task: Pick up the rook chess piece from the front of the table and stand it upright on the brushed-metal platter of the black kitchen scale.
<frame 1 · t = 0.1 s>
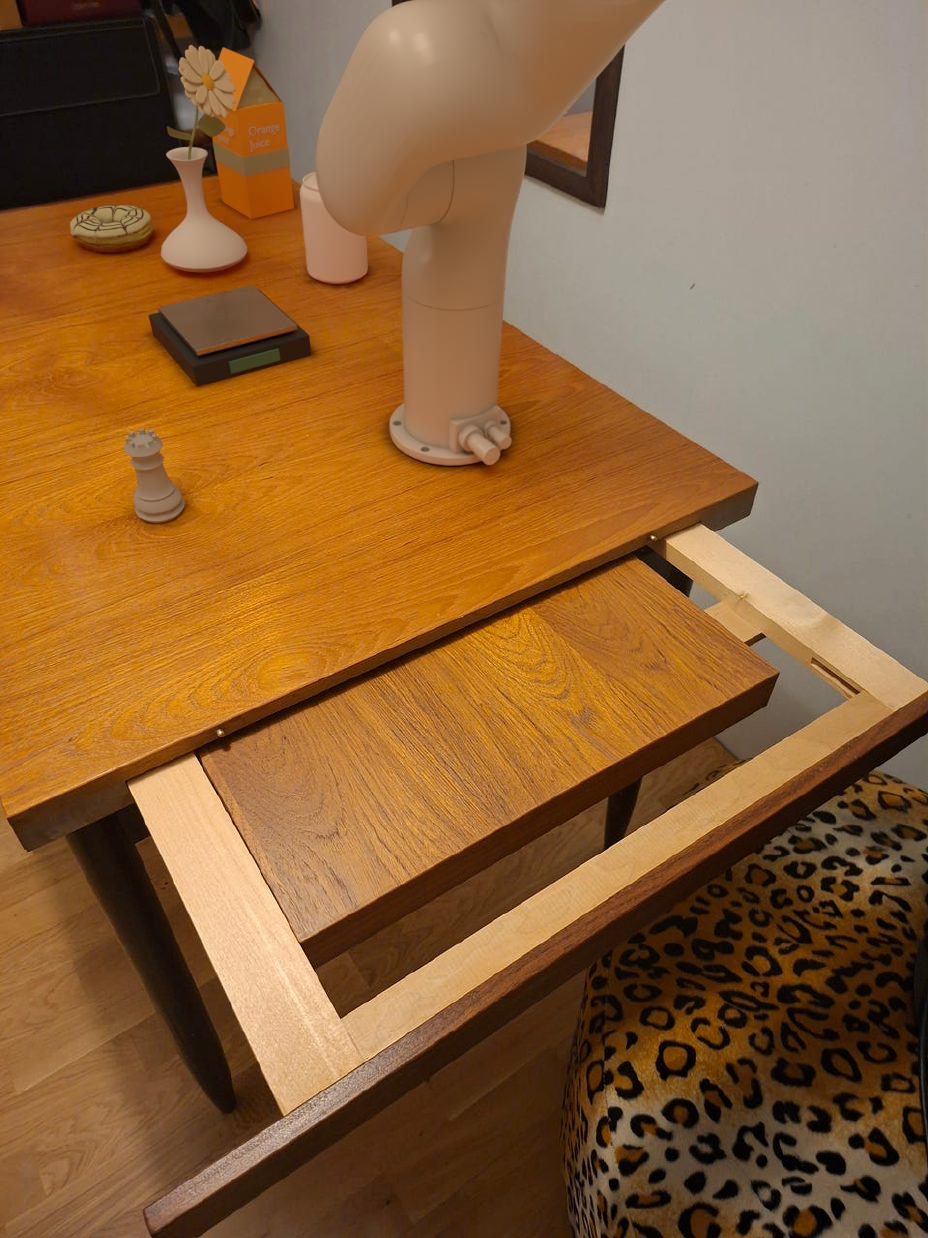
rook chess piece: (161, 511, 80), on the table
decorated donut: (116, 242, 123), on the table
platter: (226, 318, 100), point 3 cm above the table, slide at 0.0 cm
orange juice: (258, 206, 134), on the table
flower in vase: (212, 262, 119), on the table
scale: (231, 344, 103), on the table
beverage can: (338, 275, 117), on the table
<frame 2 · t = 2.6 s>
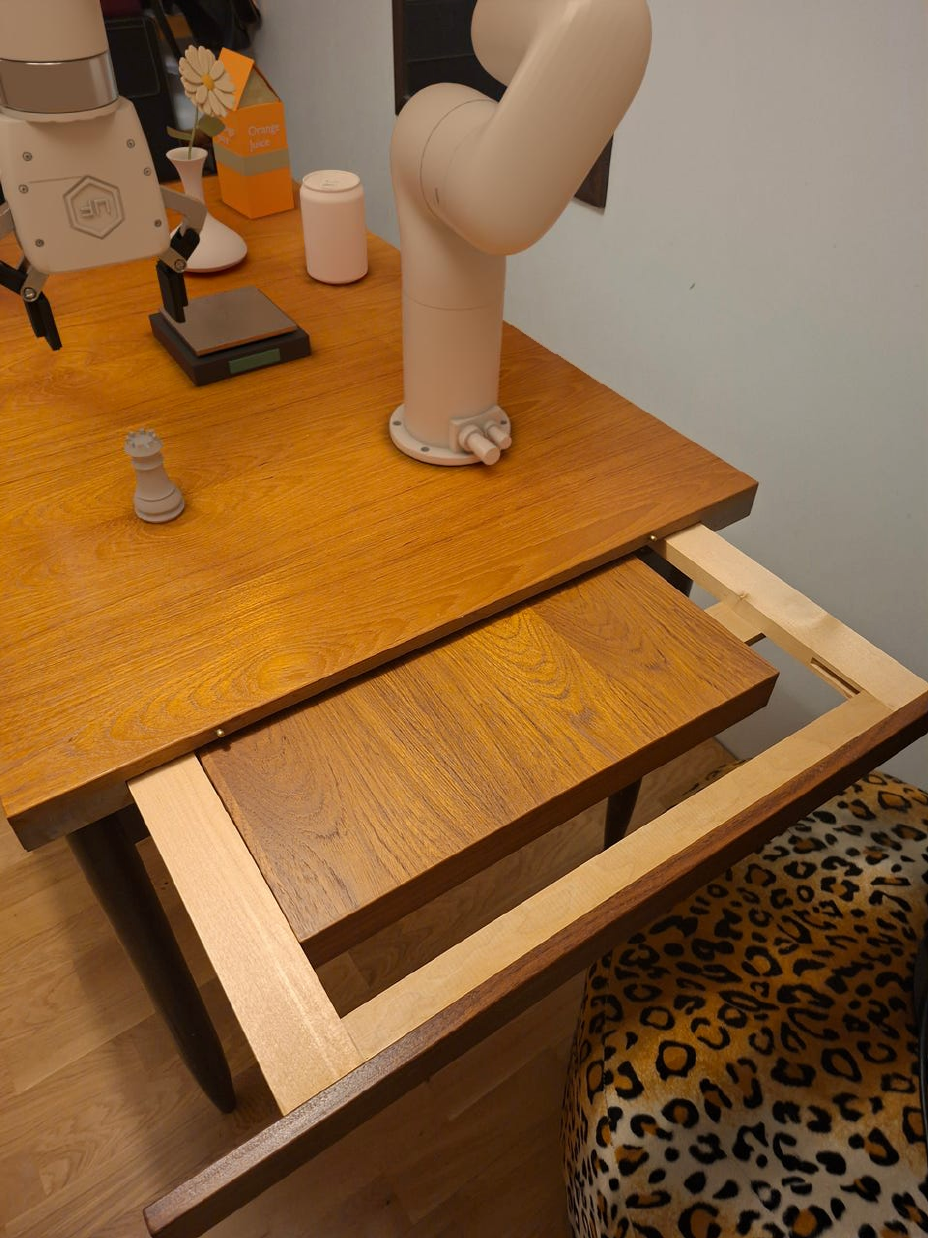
hand: (115, 329, 69), 17 cm above the table, tool pointing down, fingers open, 9 cm apart
nothing on the table moved.
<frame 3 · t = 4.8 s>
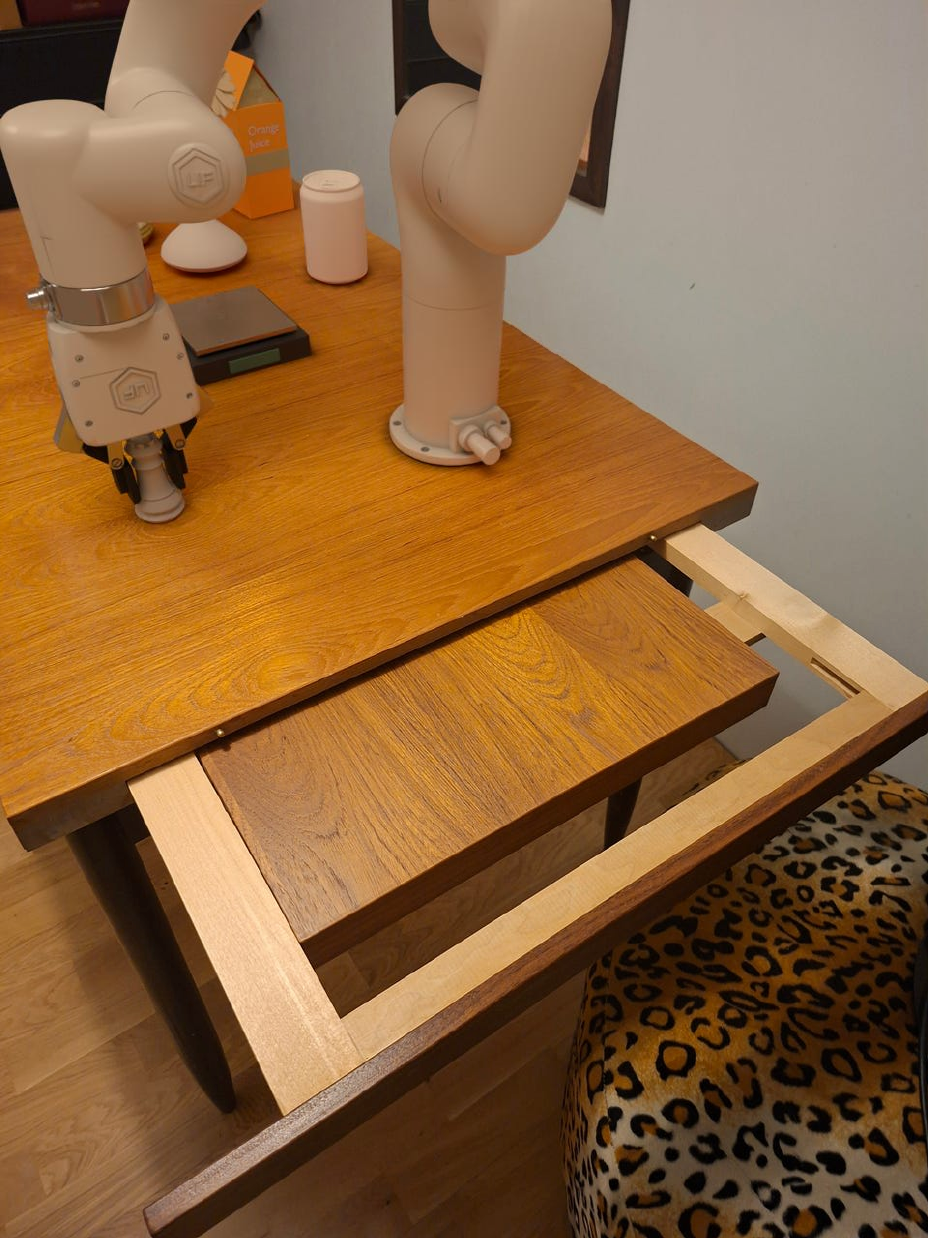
hand: (154, 486, 78), 3 cm above the table, tool pointing down, fingers closed on rook chess piece, 3 cm apart
rook chess piece: (161, 511, 80), on the table, touching gripper
everything else where it was.
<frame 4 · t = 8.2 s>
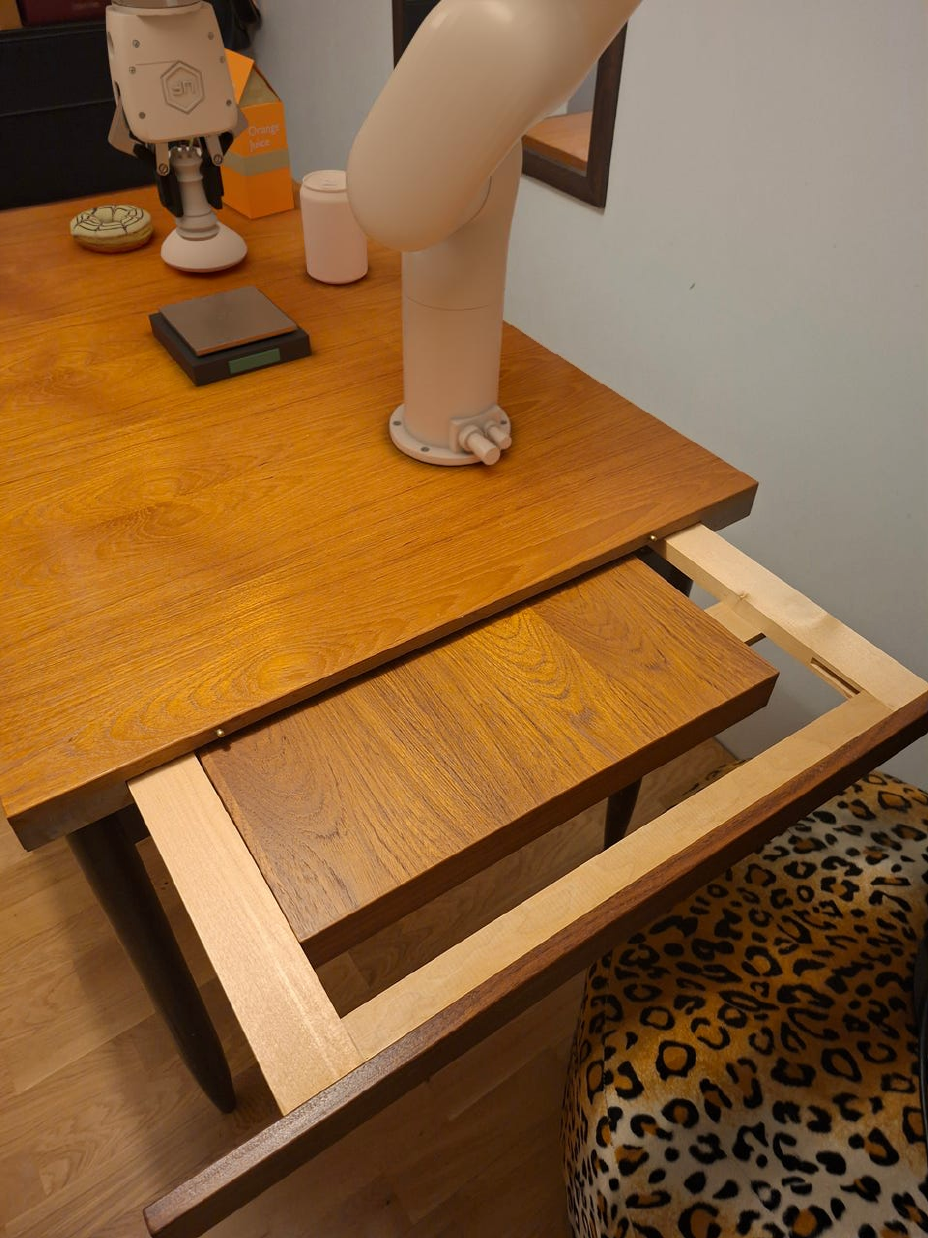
hand: (194, 207, 87), 17 cm above the table, tool pointing down, fingers closed on rook chess piece, 3 cm apart
rook chess piece: (199, 235, 89), point 14 cm above the table, touching gripper
everything else where it was.
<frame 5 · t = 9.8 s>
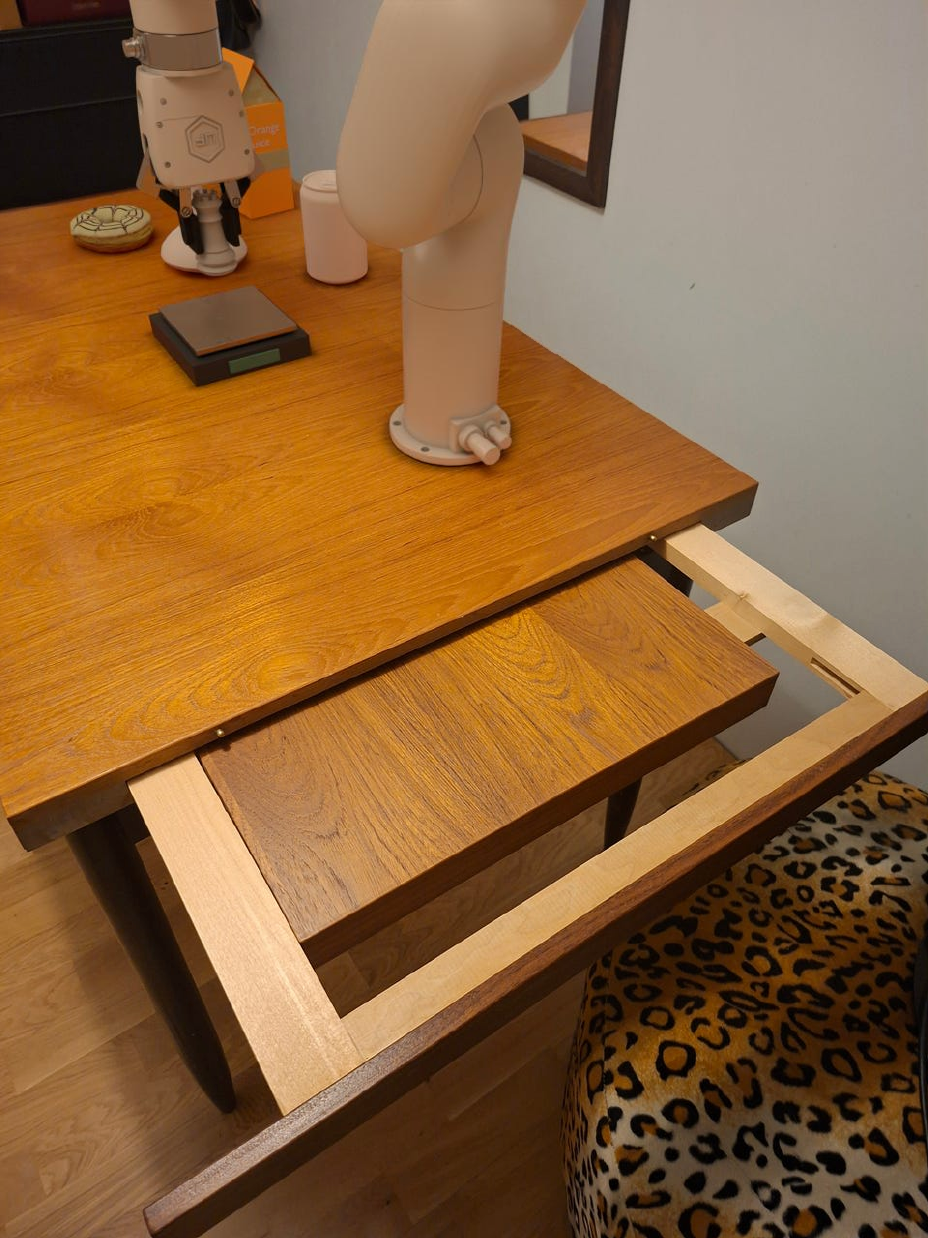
hand: (213, 244, 94), 12 cm above the table, tool pointing down, fingers closed on rook chess piece, 3 cm apart
rook chess piece: (217, 270, 96), point 9 cm above the table, touching gripper
everything else where it was.
when the fingers open (6 cm above the table, at t = 11.4 s): rook chess piece stays where it is, resting on platter.
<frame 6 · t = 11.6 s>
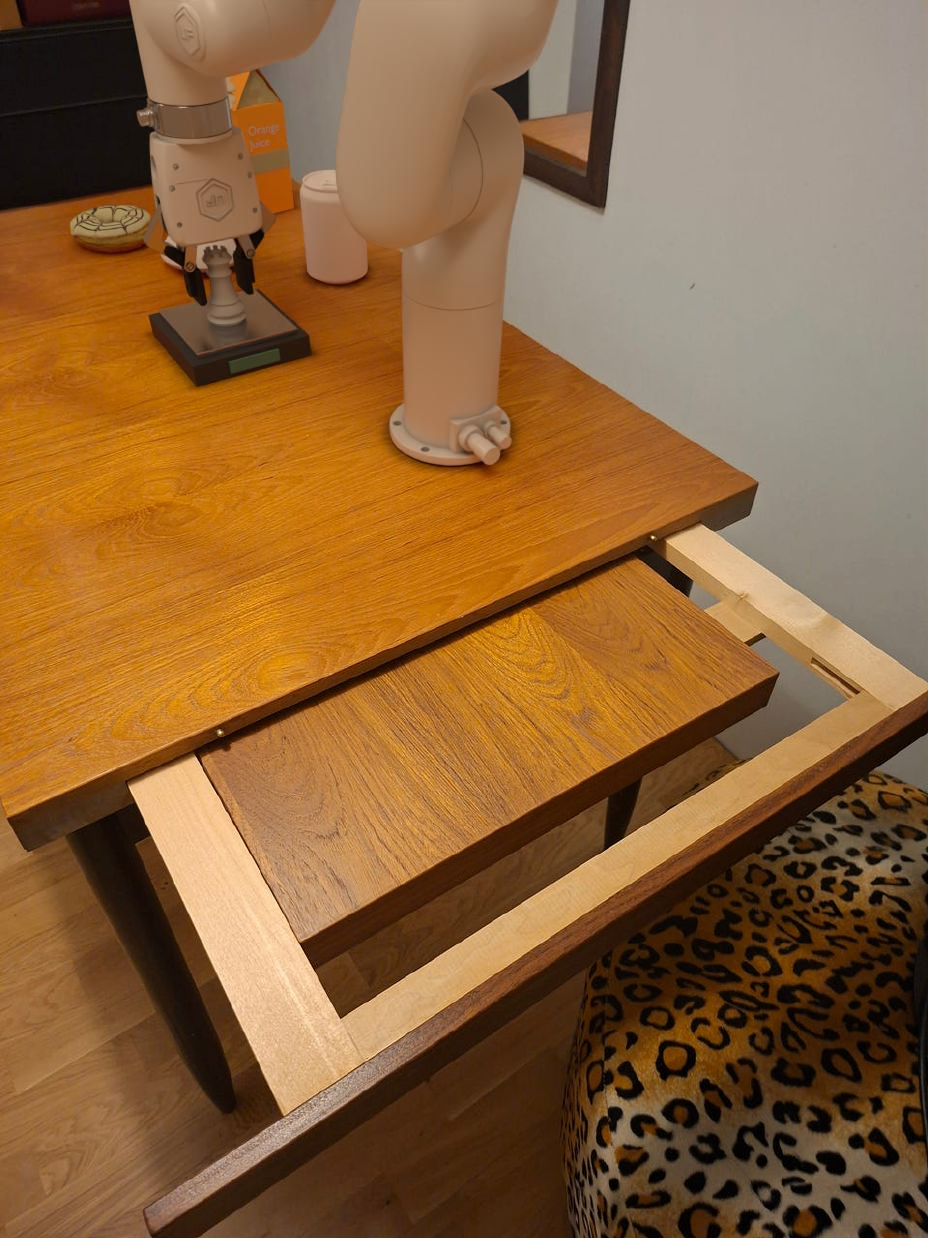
hand: (222, 293, 98), 6 cm above the table, tool pointing down, fingers open, 4 cm apart
rook chess piece: (227, 320, 100), point 3 cm above the table, touching platter
platter: (227, 321, 101), point 3 cm above the table, slide at -0.4 cm, touching rook chess piece, scale
everything else where it was.
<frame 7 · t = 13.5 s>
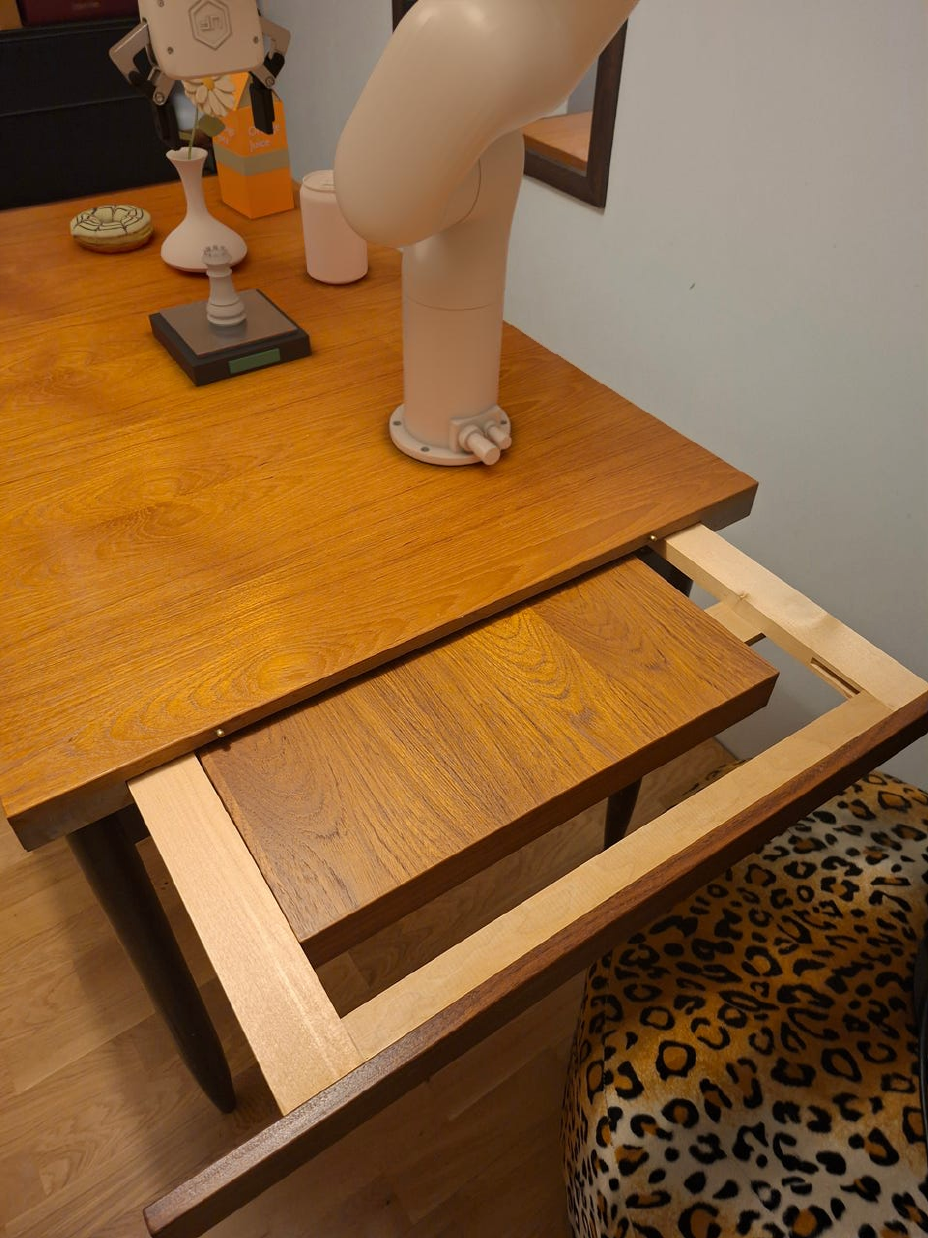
hand: (219, 138, 86), 22 cm above the table, tool pointing down, fingers open, 9 cm apart
nothing on the table moved.
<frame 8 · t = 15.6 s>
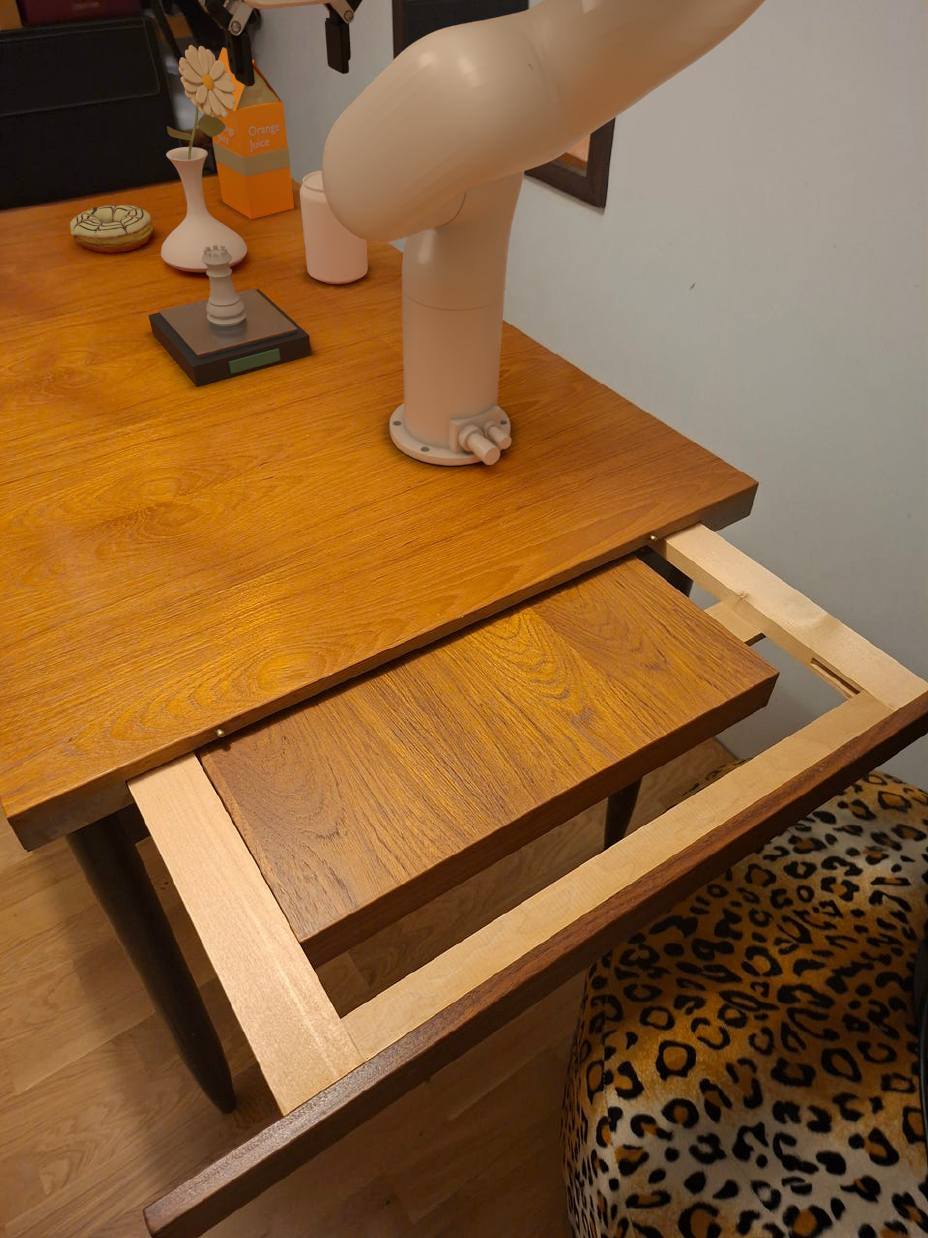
hand: (292, 76, 82), 28 cm above the table, tool pointing down, fingers open, 9 cm apart
nothing on the table moved.
at the end: rook chess piece inside the target area on the scale (0.0 cm from its centre), point 3.0 cm above the scale's base; rook chess piece tilted 0°; the gripper is holding nothing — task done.
